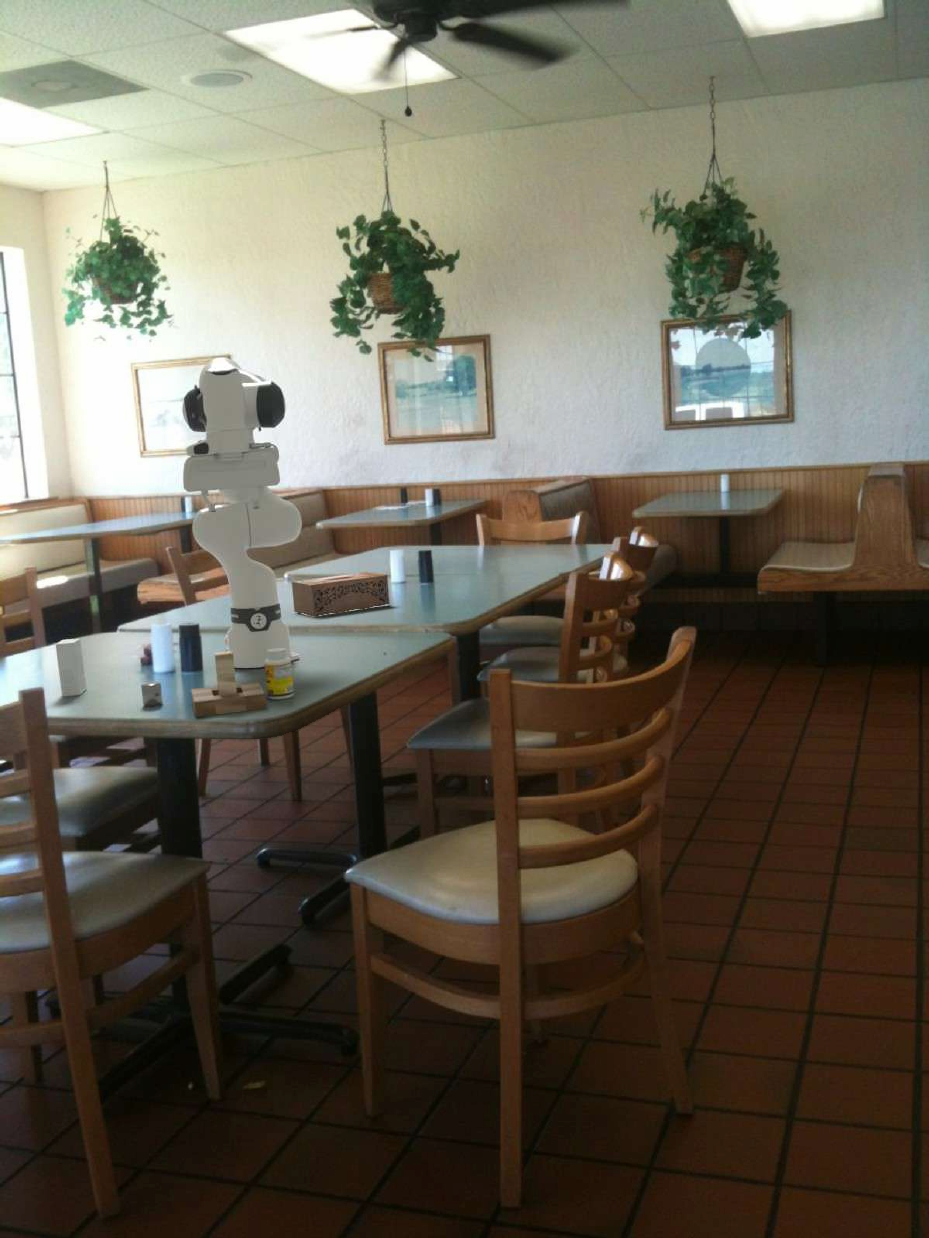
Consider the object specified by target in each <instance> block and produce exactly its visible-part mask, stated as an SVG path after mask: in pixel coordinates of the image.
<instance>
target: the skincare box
mask: <svg viewBox="0 0 929 1238" xmlns="http://www.w3.org/2000/svg"><path fill="white" fill-rule="evenodd" d="M81 642H82V641H81V638H71V639H70V638H67V639H62V640H60V641H58V642H57V643H56V644H55V651H56V659H57V667H58V674H59V681H60V682H59V683H60V690H61V696H62V697H72V696H73V697H74V696H80V695H82V694H83V693H84V692H85V691H86V690H87V683H86V676H85V670H84V669H85V668H84V660H83V652H82V651H83V650H82V643H81Z"/></svg>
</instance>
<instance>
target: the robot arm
mask: <svg viewBox="0 0 929 1238" xmlns="http://www.w3.org/2000/svg"><path fill="white" fill-rule="evenodd" d="M181 408H182V410H181V411H182V415H183V416H182V417H183V419H184V421H185V423H186V424H187V426H188V428H189V429H190V430H192V431H193V432H195V433H205V439H203V440H201V439H200V440H198V441H197V442H195V443H192V444H190V445H188V446H187V447H186V449H185V453H186V455H187V456H189V457H187V458H186V459H185V461H184V464H183V471H182V472H183V473H182V475H183V476H182V481H183V482H182V483H183V490H185V491H186V492H187V493H194V492H196V493H197V492H200V495H201V497H202V499H203V500H204V501H205V503H206V505H207V507H204V508H202V509H199V510H198V511H197V513H196V514H195V516H194V518H193V521H192V526H191V527H192V530H191V531H192V535H193V537H194V538H193V539H194V540H195V542H196V543H197V544H198V545H199V546H200V547H201V548H202V549H203V550H205V551H207V552H208V553H209V554H211V555H212V556H213V557H214V558H215V559H216V560H217V561H218V562H219V563H220V565H221V566H222V569H223V570H224V572H225V575H226V577H227V581H228V586H229V587H228V588H229V593H230V599H231V607H230V612H229V613H230V615H229V616H230V622H231V623H232V625H231V627H230V628H229V629H228V631H227V632H226V635H225V637H224V646H225V647H226V651H225V652H228V651H232V653H233V659H234V669H236V668H237V669H249V668H250V669H251V668H252V669H256V668H263V667H264V668H265V666H264V661H265V660H266V659H268V657H267V650H269V649H273V648H285V649H286V653H287V656H286V657H289V658H290V659H291V661H295V660H299V659H300V655H299V654H298V653H296V652H293V651H292V646H291V639H290V637H291V636H290V629H289V626H288V625H286V623H284V622H283V620H282V619H281V618H282V607H281V604H280V603H279V600H278V598H279V597H278V590H277V589H278V587H277V576H276V573H275V571H274V570H273V568H271V567H270V566H268V565H266V564H265V563H262V562H259V561H257V560H254V559H252V558H250V557H249V556H248V554H247V551H248V550H249V549H256V548H257V549H258V548H266V547H267V548H269V547H279V546H281V545H286V544H289V543H292V542H295V541H296V540H297V538H298V537H299V536H300V534H301V531H302V527H303V521H302V520H303V519H302V516H301V512H300V511H299V509H298V507H296V505H294V503H293V502H291V501H288V500H286V499H283V498H282V497H280V496H278V495H277V494H275V492H274V491H272V489H270V488H269V487H272V486H274V487H275V486H278V485H279V484H280V482H281V476H280V470H279V465H278V462H279V460H280V452H279V451H280V450H279V448H278V446H276V444H273V443H271V442H269V441H268V442H256V441H255V438H254V431H255V429H257V428H258V432H261V431H262V429H263V428H264V429H267V428H268V429H270V428H271V429H274V428H276V427H278V426H279V424H281V422H282V421H283V420H284V419H285V415H286V410H287V409H286V408H287V407H286V399H285V395H284V392H283V391H282V389H281V387H280V386H279V385H278V384H277V383H275V381H273V380H269V381H268V380H266V378H263V376H260V375H258V374H255V373H252V372H249V371H246V370H244V369H243V368H242V367H241V366H240V365H239V364H238V363H237V362H235V361H234V360H232V359H230V358H226V357H216V358H214V359H212V360H210V361H208V362H207V363H206V364H205V365H204V367H203V368H202V369H201V371H200V375H199V379H198V384H194V386H193V389H191V390H189V391H188V392H187V393H186V394H185V396H184V397H183V402H182V407H181ZM209 491H219V493H220V495H221V496H222V498H223V499H224V500H225V501H227V502H228V503H226V504H225V503H223V504H216V503H211V501H210V500H209V499H208V497H209V495H210V494H209Z"/></svg>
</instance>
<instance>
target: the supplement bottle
mask: <svg viewBox="0 0 929 1238" xmlns="http://www.w3.org/2000/svg"><path fill="white" fill-rule="evenodd" d="M286 656H287V653H286V649H285V648H273V649H269V650H267V657H268V659H266V660H265V661H264V666H265V667H264V674H265V684H266V685H265V686H266V694H267V698H268V699H270V700H273V701H275V700H276V701H277V700H278V701H279V700H287V699H289V698H293V696H294V694H295V692H294V677H293V668H292V660H291V659H290V658H289V657H286Z"/></svg>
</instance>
